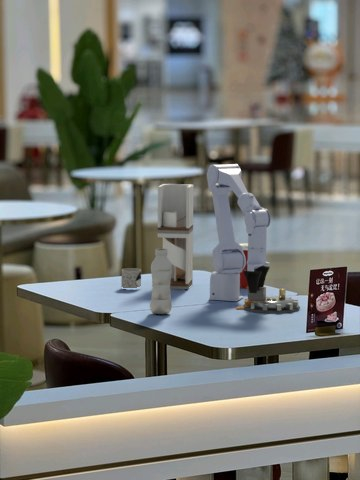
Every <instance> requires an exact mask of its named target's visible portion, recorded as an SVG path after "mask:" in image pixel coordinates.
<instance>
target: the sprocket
mask: <svg viewBox="0 0 360 480" xmlns="http://www.w3.org/2000/svg"><path fill="white" fill-rule="evenodd" d="M286 290H287V289H286V288H279V290H278V291H279V292H278V295H273V296H271V295H268V296H267V295H266V300H265V301H250V300H248V297H245V298H244V304H245V307H251V309H263V310H266V311H267V310H277V311H281V310H282V309H288V310H292V309H293V308H298V306H299V299H297V298H293V299H292V297H290V296H286V293H287V292H286Z"/></svg>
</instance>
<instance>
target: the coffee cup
mask: <svg viewBox="0 0 360 480" xmlns="http://www.w3.org/2000/svg"><path fill="white" fill-rule="evenodd" d="M238 244H239V245H241V246H242V249H243V253H244V255H245V258H246V265H245V267H244V269H243V270H242V272H240V289H242V290H243V289H244V290H248V289H247V288H248V283H247V280H246V277H245V275H244V273H243V271H244V270H247V261H248V242H243V243H238Z"/></svg>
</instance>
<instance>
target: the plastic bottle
mask: <svg viewBox="0 0 360 480" xmlns="http://www.w3.org/2000/svg"><path fill="white" fill-rule="evenodd" d="M154 250H155V251H154V255H155V257H154V259H153V260H152V262H151V265H150V272H151V273H150V274H151V284H152V285H151V287H152V289H151V296H150V297H151V298H150V302H149V308H150V309H149V310H150V311H151V313H152V314H156V315H160V314H161V315H166V314H170V312H171V311H172V306H173V304H172V303H173V302H172V299H171V289H170V280H171V273H172V263H171V262H170V260H169V259H168V258H167V255H168V250H167V249H164V248H163V247H162V248H161V247H160V248H155V249H154Z"/></svg>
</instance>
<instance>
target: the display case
mask: <svg viewBox="0 0 360 480" xmlns="http://www.w3.org/2000/svg"><path fill="white" fill-rule="evenodd" d="M194 187H195V186H194V184H191V183H189V184H188V183H187V184H186V183H185V184H181V183H162V184H160V185H158V186H157V238H162V248H164V249H167V250H168V255H167V258H168V259H169V260H170V262H171V263H172V273H171V280H170V290H172V289H189V290H190V288H191V287H192V286H193V278H194V277H193V274H194V272H193V269H194V268H193V267H194V265H193V264H194V263H193V262H194V260H193V259H194V257H193V256H194V252H193V251H194ZM191 285H192V286H191ZM190 286H191V287H190ZM189 287H190V288H189Z"/></svg>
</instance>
